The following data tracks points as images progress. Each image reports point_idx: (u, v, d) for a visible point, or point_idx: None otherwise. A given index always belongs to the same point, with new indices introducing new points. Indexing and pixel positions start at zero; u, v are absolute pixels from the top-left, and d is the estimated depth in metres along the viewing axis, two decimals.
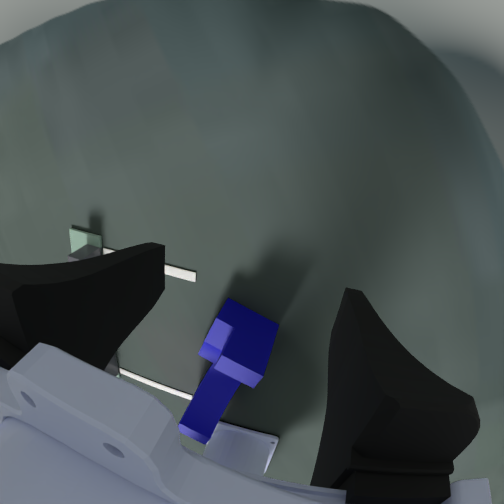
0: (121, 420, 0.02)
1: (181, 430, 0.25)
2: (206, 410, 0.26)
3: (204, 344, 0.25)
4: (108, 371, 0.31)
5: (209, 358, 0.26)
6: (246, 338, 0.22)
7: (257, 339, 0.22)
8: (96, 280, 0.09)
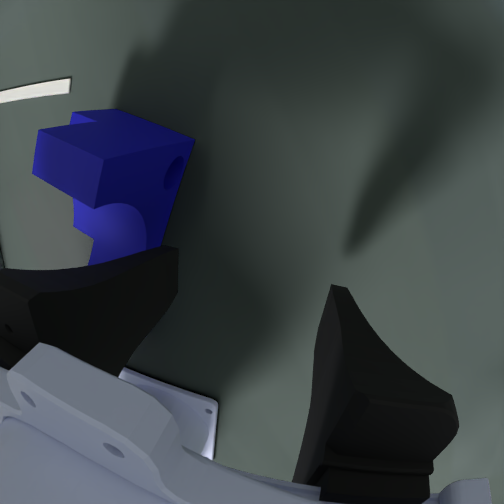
0: (121, 420, 0.02)
1: None
2: None
3: None
4: None
5: (87, 230, 0.14)
6: (110, 129, 0.10)
7: (133, 135, 0.10)
8: (112, 286, 0.08)
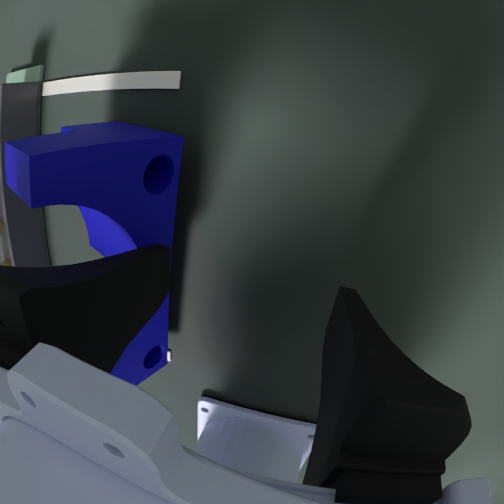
0: (121, 420, 0.02)
1: None
2: None
3: (81, 210, 0.13)
4: None
5: (99, 247, 0.14)
6: (79, 134, 0.09)
7: (99, 136, 0.09)
8: (103, 282, 0.09)
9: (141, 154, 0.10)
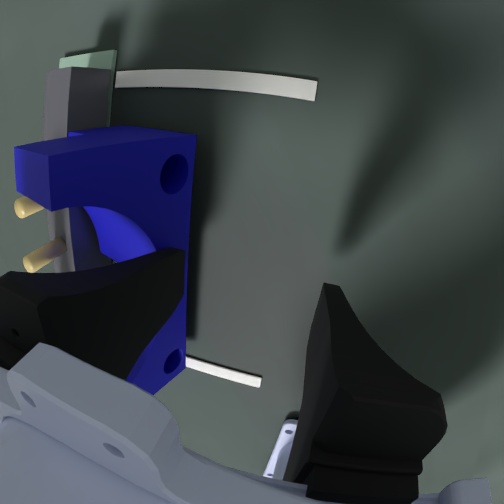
0: (121, 420, 0.02)
1: None
2: None
3: (90, 217, 0.13)
4: None
5: (111, 253, 0.14)
6: (91, 137, 0.09)
7: (113, 137, 0.10)
8: (120, 288, 0.08)
9: (157, 153, 0.10)
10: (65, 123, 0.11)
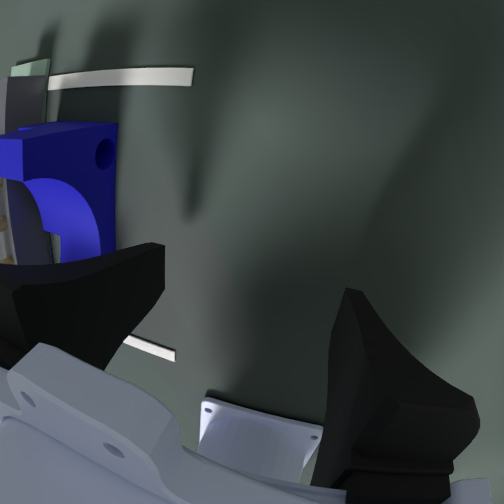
0: (121, 420, 0.02)
1: None
2: None
3: (35, 199, 0.14)
4: None
5: (54, 229, 0.15)
6: (42, 128, 0.11)
7: (60, 128, 0.11)
8: (96, 280, 0.09)
9: (93, 138, 0.12)
10: (3, 123, 0.11)
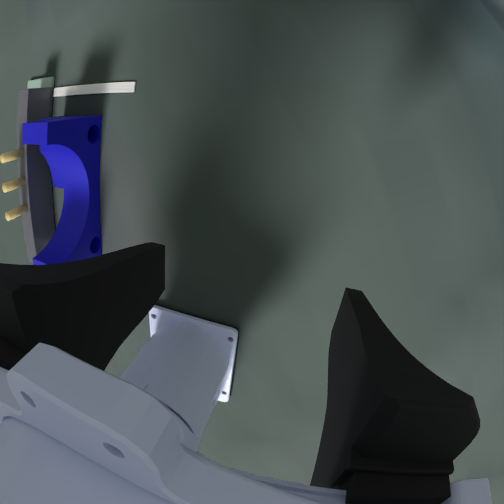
0: (121, 420, 0.02)
1: None
2: (62, 244, 0.23)
3: (49, 165, 0.22)
4: (43, 242, 0.25)
5: (60, 184, 0.23)
6: None
7: (67, 118, 0.19)
8: (96, 280, 0.09)
9: (86, 124, 0.20)
10: (26, 117, 0.19)
